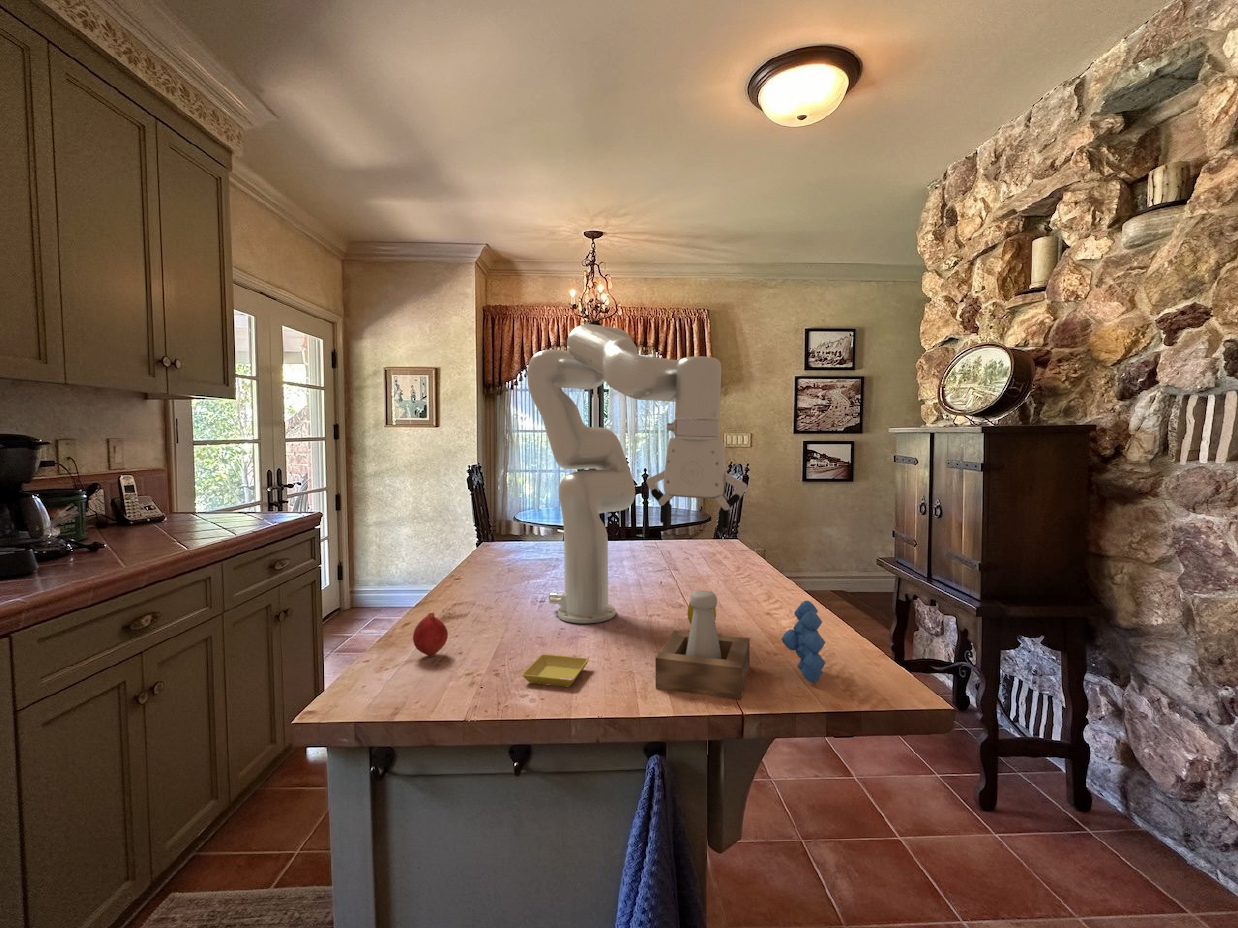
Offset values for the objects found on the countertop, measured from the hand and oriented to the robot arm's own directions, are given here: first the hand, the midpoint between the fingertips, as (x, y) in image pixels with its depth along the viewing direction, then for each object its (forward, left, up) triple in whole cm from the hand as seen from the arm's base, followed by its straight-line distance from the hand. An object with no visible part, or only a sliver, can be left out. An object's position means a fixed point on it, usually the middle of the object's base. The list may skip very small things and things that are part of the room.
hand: (693, 529), depth 98 cm
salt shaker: (+3, -7, -22) cm, 23 cm away
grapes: (+18, -2, -23) cm, 29 cm away
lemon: (-1, +13, -23) cm, 27 cm away
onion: (-45, -13, -23) cm, 52 cm away
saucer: (-20, -14, -23) cm, 34 cm away
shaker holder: (+3, -7, -23) cm, 24 cm away
